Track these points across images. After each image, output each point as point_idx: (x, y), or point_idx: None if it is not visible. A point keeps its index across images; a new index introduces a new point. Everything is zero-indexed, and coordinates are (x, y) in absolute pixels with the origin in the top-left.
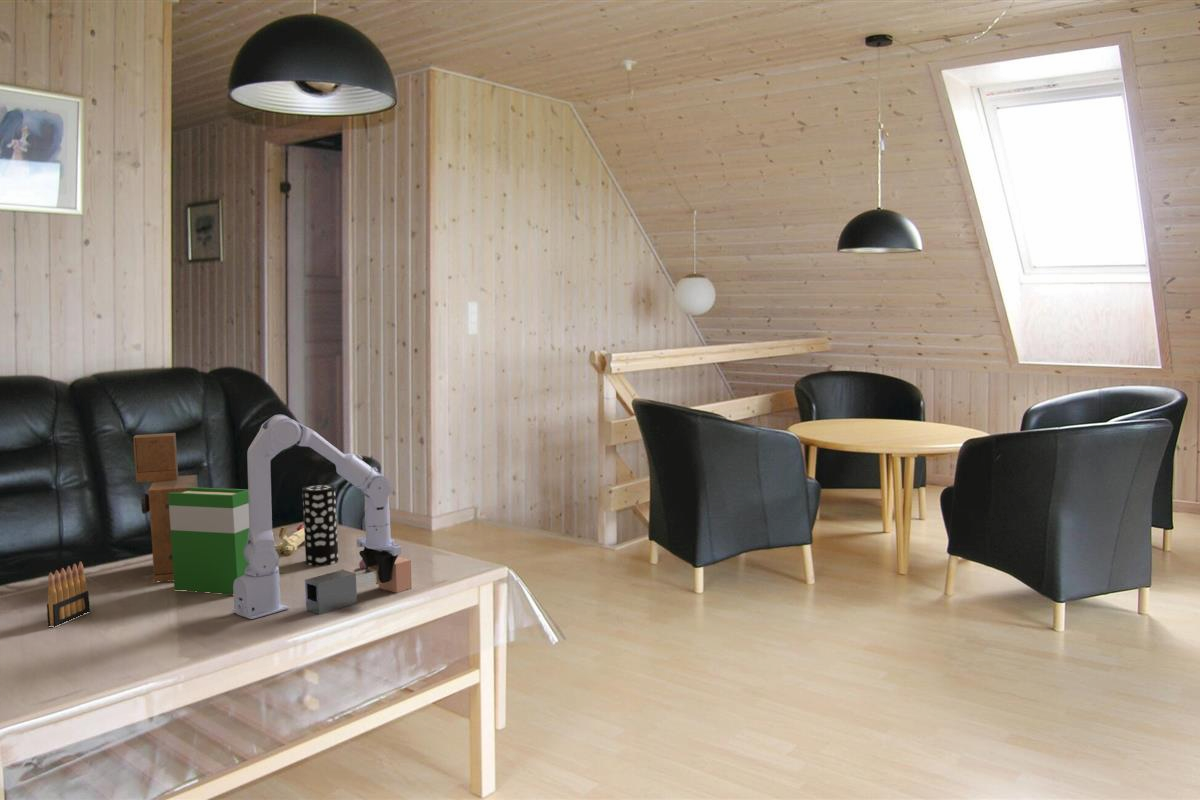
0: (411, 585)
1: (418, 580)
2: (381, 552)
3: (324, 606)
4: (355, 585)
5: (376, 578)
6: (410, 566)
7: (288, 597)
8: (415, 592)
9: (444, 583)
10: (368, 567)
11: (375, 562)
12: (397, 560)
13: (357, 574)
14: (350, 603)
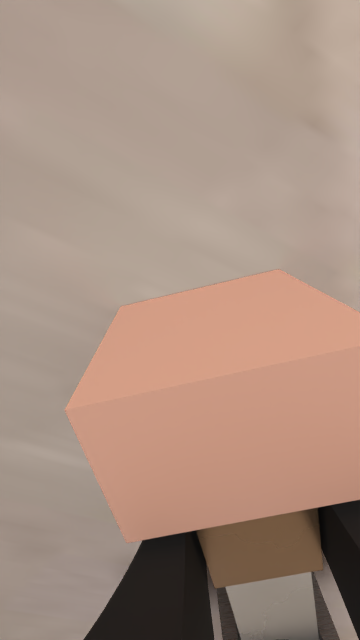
0: (286, 273)
1: (150, 151)
2: (183, 629)
3: None
4: (324, 601)
5: None
6: (354, 314)
7: (70, 618)
8: (352, 283)
9: (343, 20)
10: (218, 584)
11: (195, 566)
12: (299, 442)
13: (295, 637)
14: None
